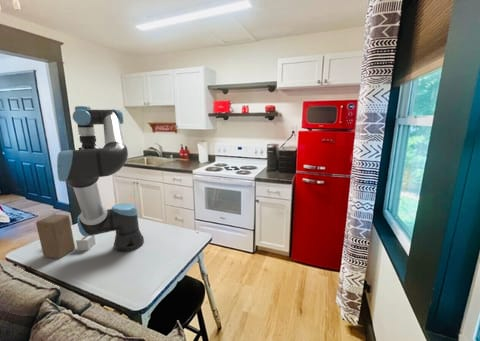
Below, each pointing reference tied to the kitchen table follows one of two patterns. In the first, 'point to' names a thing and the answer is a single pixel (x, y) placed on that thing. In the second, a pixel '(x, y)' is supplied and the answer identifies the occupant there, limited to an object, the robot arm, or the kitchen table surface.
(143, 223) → the kitchen table surface
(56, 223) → the wooden block
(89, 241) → the grey marked cube
